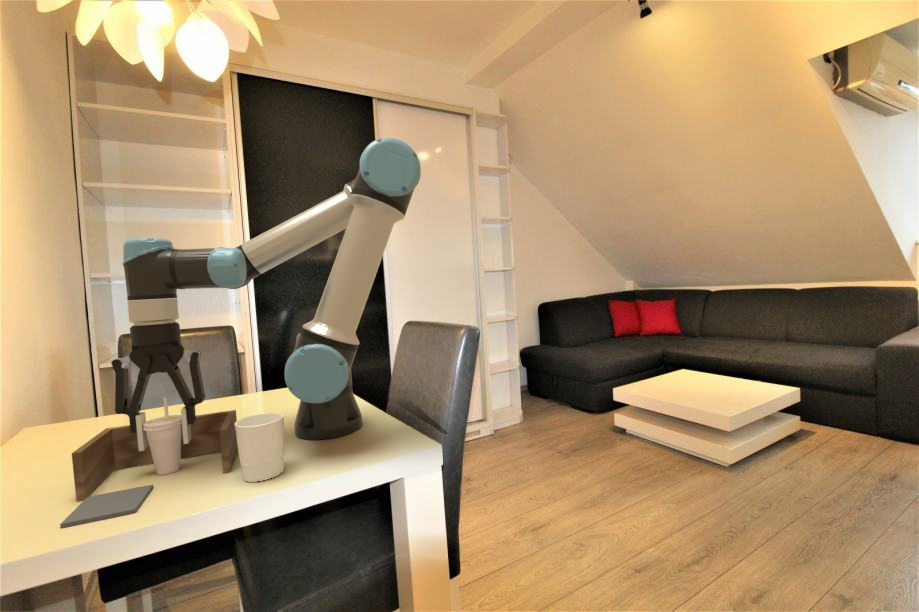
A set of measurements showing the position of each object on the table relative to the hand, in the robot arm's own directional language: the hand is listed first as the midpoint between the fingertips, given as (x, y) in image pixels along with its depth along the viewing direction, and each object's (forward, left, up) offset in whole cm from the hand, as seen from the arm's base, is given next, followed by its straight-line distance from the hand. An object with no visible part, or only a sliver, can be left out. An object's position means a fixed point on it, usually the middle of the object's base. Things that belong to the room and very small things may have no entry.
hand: (166, 444), depth 80 cm
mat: (+5, +12, -5) cm, 14 cm away
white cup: (-17, +11, -5) cm, 21 cm away
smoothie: (0, 0, -5) cm, 5 cm away
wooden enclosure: (0, 0, -5) cm, 5 cm away
